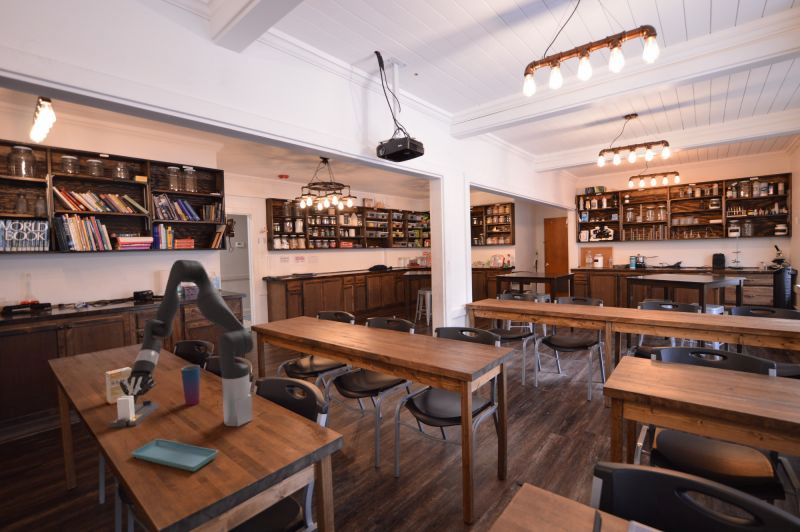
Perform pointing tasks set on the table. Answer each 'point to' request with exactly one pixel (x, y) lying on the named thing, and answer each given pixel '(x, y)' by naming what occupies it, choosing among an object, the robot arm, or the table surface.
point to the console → (136, 414)
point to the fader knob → (126, 407)
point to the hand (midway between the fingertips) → (129, 405)
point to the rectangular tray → (175, 454)
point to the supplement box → (116, 383)
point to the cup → (191, 384)
